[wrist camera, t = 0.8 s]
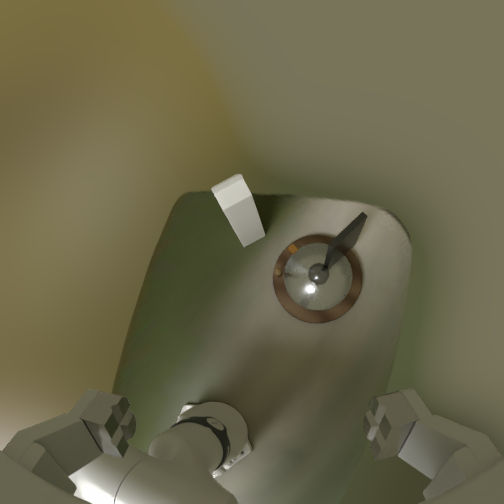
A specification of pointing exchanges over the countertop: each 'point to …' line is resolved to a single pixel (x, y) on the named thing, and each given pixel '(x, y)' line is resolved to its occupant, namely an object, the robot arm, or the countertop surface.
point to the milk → (239, 209)
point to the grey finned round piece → (322, 270)
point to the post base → (310, 314)
